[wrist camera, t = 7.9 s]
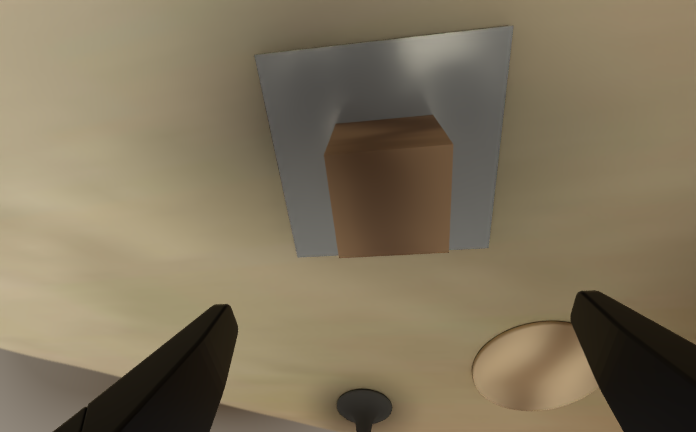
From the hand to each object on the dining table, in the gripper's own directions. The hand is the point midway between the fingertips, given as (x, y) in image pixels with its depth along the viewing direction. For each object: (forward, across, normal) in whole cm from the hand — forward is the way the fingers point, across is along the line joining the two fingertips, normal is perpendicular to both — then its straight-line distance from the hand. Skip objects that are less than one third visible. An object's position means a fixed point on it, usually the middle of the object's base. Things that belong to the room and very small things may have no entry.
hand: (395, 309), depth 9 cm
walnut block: (+11, 0, 0) cm, 11 cm away
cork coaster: (+12, -11, +18) cm, 24 cm away
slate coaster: (+12, 0, 0) cm, 12 cm away
